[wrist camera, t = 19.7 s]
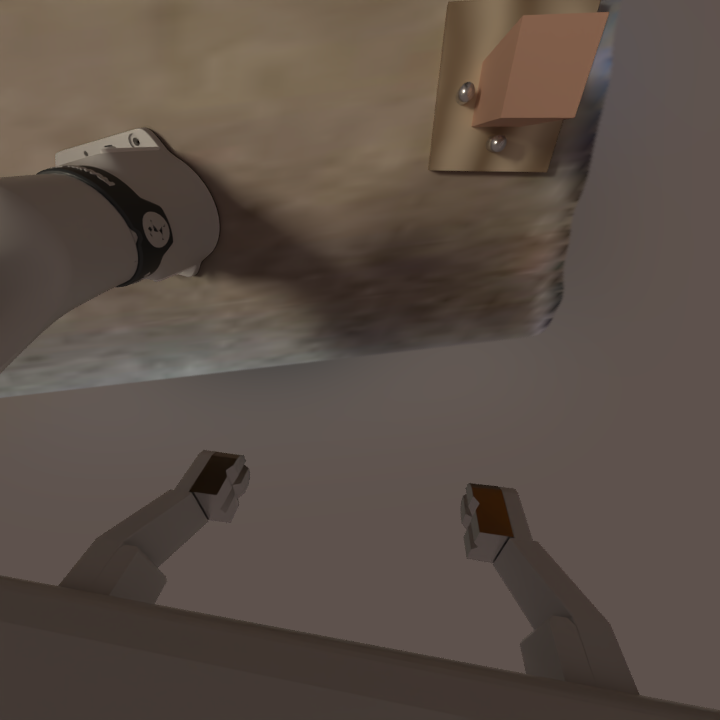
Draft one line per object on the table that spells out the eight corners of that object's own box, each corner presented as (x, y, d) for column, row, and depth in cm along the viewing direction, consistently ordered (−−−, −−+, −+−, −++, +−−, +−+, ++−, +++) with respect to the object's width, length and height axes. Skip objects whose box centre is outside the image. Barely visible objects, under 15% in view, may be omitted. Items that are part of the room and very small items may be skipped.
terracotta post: (471, 126, 32) (500, 117, 22) (482, 61, 29) (523, 15, 19) (520, 126, 32) (574, 117, 21) (536, 60, 29) (609, 11, 18)
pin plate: (428, 169, 36) (430, 172, 32) (447, 7, 29) (452, -13, 25) (542, 171, 35) (557, 174, 31) (593, 1, 27) (622, -21, 24)
